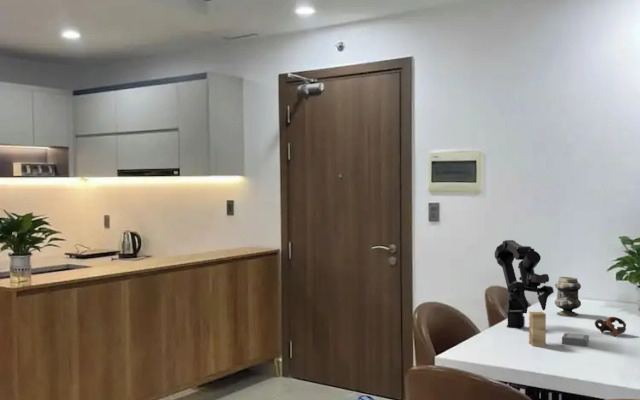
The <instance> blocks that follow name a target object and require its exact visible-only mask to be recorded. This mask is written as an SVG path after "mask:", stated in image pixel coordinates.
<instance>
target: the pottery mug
mask: <svg viewBox="0 0 640 400" xmlns="http://www.w3.org/2000/svg"><path fill="white" fill-rule="evenodd" d="M616 322H618V325H623V326H617V328H615V326H616V325H614V323H616ZM599 324H600V325H599ZM594 326H595V327H596V328H597V330H599V331H600V332H601V333H602V334H603V333H604V332H611V336H612V337H615V338H616V337H617V336H618V335H621V334H623V333H625V332H626V330H627V328H626V327H627V324H626V322H625V321H624V320H623V319H622V318H619V317H616V316H609V317H608V318H607V319H604V320H603V319H597V320H595V321H594Z"/></svg>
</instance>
